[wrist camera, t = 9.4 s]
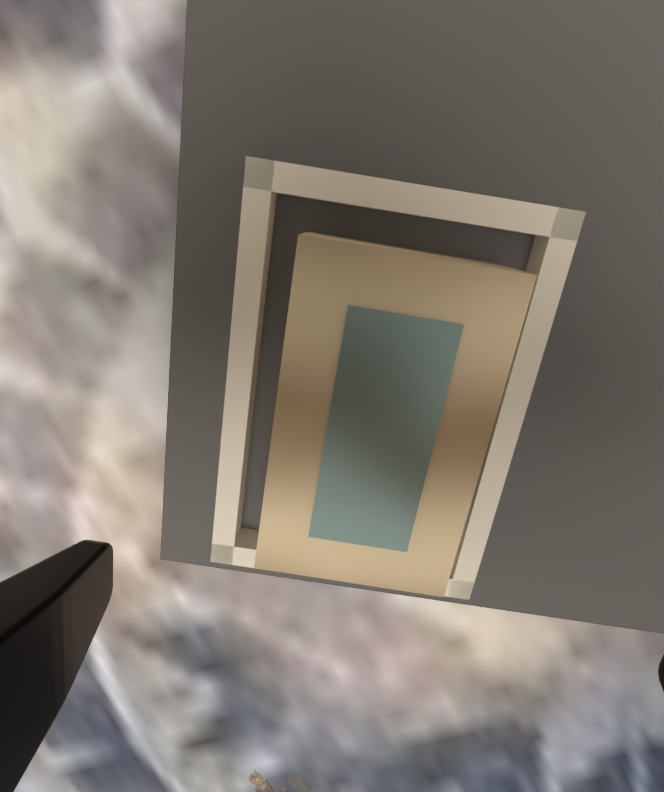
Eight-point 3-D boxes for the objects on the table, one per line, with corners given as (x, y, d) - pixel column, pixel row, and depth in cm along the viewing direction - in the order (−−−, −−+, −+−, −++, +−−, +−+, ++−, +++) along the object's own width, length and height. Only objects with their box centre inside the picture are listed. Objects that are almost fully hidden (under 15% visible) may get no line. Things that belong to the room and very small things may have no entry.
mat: (1081, 5, 14) (1183, -25, 12) (742, 635, 21) (776, 671, 19) (202, -149, 13) (180, -203, 12) (165, 549, 21) (149, 579, 19)
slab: (427, 532, 19) (444, 599, 16) (270, 507, 19) (253, 570, 16) (498, 263, 16) (538, 275, 13) (308, 231, 16) (297, 235, 12)
